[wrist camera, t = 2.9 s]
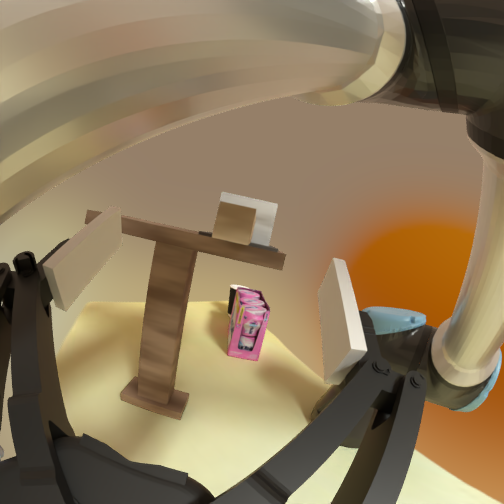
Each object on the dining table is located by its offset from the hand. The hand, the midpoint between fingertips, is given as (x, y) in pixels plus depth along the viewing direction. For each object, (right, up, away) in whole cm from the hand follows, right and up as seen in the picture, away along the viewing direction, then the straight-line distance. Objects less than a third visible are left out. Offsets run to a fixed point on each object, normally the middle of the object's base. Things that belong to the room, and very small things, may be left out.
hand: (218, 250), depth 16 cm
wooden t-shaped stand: (-14, -24, +25) cm, 37 cm away
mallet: (0, +1, +17) cm, 17 cm away
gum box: (-1, -26, +58) cm, 64 cm away
